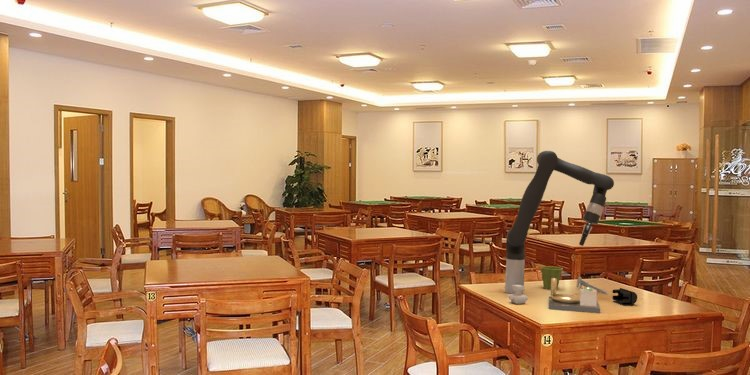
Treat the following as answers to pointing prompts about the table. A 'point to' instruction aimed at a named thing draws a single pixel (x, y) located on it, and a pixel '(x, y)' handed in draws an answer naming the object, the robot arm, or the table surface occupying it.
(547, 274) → the plant pot
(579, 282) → the caliper
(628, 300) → the end cap
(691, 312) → the table surface
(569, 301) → the brass dish with post
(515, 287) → the white rounded piece
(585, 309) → the base
